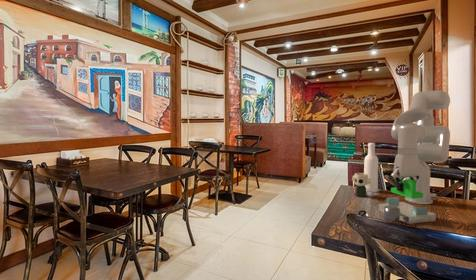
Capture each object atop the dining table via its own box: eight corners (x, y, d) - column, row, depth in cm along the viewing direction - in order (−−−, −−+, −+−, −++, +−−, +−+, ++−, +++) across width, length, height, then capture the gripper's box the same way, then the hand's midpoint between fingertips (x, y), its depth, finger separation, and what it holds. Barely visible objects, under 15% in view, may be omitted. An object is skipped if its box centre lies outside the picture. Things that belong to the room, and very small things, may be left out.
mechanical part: (423, 197, 119) (423, 179, 118) (411, 198, 118) (412, 180, 117) (401, 190, 131) (401, 174, 130) (390, 191, 129) (391, 175, 129)
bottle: (360, 189, 171) (361, 143, 168) (370, 188, 173) (371, 142, 171) (371, 193, 163) (372, 144, 161) (380, 191, 166) (381, 143, 164)
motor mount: (402, 207, 136) (402, 196, 135) (435, 220, 118) (436, 207, 118) (364, 211, 131) (364, 199, 131) (392, 225, 113) (393, 211, 113)
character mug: (348, 194, 160) (349, 173, 159) (355, 192, 164) (356, 171, 163) (366, 199, 151) (366, 176, 150) (373, 196, 155) (373, 174, 154)
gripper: (415, 150, 129) (414, 187, 130) (385, 151, 125) (383, 189, 126) (430, 152, 121) (428, 191, 122) (397, 153, 118) (396, 193, 119)
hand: (406, 190), depth 124 cm, fingers closed on mechanical part, 6 cm apart
